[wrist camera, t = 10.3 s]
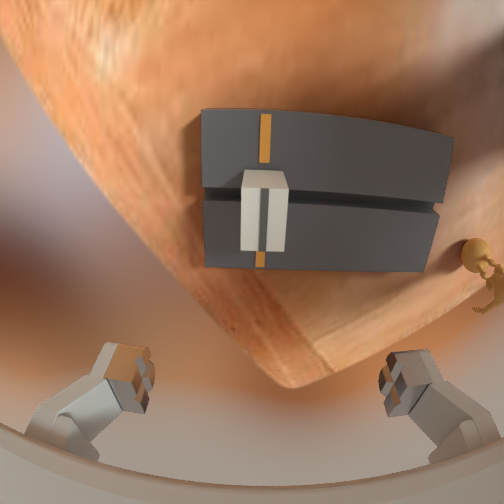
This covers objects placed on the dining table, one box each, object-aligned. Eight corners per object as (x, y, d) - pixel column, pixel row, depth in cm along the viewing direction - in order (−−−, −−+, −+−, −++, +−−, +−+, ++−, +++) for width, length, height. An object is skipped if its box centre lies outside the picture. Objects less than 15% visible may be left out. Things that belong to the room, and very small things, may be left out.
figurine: (459, 279, 32) (508, 342, 22) (429, 266, 32) (480, 334, 21) (492, 224, 29) (553, 276, 18) (464, 204, 28) (532, 258, 17)
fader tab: (281, 166, 25) (289, 189, 19) (278, 216, 27) (284, 252, 21) (245, 165, 25) (241, 187, 19) (244, 215, 27) (240, 250, 21)
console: (438, 132, 24) (455, 138, 22) (412, 258, 31) (424, 273, 28) (207, 108, 25) (200, 109, 22) (209, 251, 31) (205, 268, 28)
